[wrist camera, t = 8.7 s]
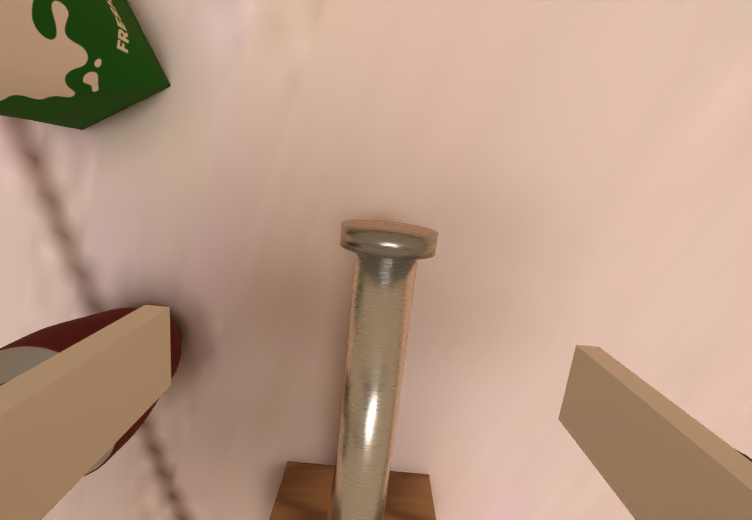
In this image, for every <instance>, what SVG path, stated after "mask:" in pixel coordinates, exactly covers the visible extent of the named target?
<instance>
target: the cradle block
mask: <svg viewBox="0 0 752 520" xmlns="http://www.w3.org/2000/svg"><path fill="white" fill-rule="evenodd" d="M335 476H336V466H328V465H318V464H307V463H297V462H288V463H287V467H286V470H285V473H284V476H283V479H282V482H281V485H280V488H279V492H278V495H277V498H276V501H275V504H274V507H273V510H272V513H271V516H270V520H331V519H332V508H333V498H334V487H335ZM383 520H436V517H435V510H434V504H433V498H432V492H431V486H430V480H429V475H423V474H412V473H402V472H391V471H390V473H389V480H388V488H387V495H386V503H385V511H384V518H383Z"/></svg>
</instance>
